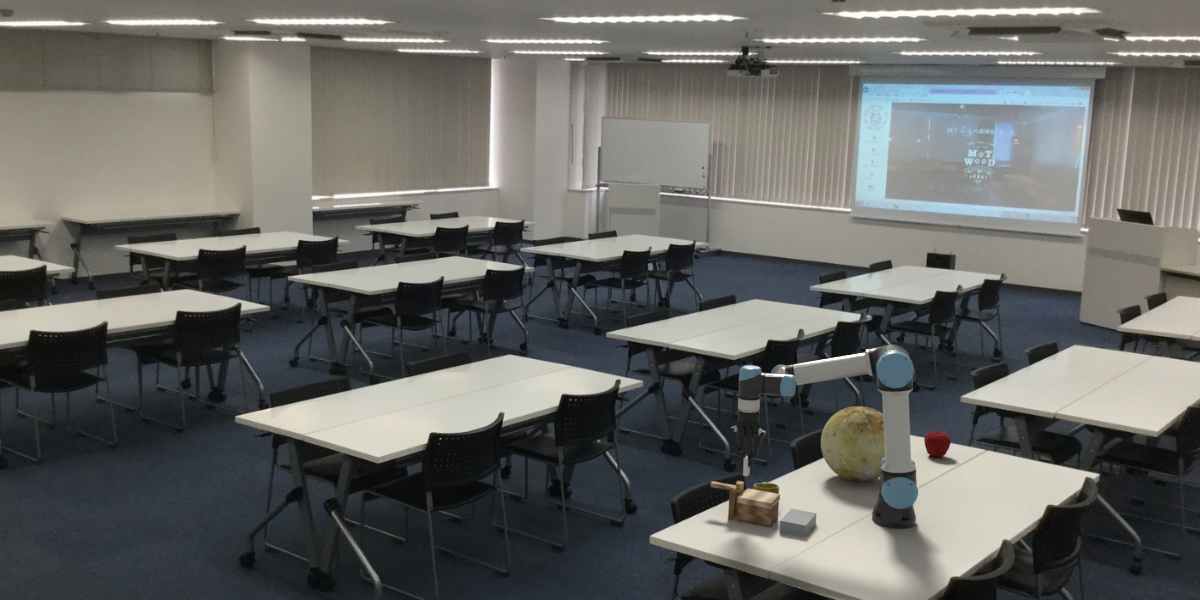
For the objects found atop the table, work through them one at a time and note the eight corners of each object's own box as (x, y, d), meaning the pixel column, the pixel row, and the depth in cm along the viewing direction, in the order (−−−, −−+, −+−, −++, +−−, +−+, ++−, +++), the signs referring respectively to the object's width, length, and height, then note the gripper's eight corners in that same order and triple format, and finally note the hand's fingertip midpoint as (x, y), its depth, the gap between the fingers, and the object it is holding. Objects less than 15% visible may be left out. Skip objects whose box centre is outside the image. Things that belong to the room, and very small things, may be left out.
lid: (779, 502, 368) (780, 494, 368) (770, 511, 358) (770, 503, 358) (747, 496, 373) (747, 488, 373) (737, 505, 364) (737, 497, 363)
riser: (815, 524, 365) (816, 513, 364) (805, 536, 352) (805, 525, 352) (790, 519, 369) (791, 508, 368) (779, 531, 356) (780, 520, 356)
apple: (924, 459, 448) (926, 432, 446) (921, 452, 458) (923, 426, 456) (951, 461, 446) (953, 434, 444) (947, 454, 456) (949, 428, 455)
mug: (782, 508, 374) (775, 481, 375) (754, 514, 377) (748, 486, 378) (785, 503, 386) (778, 477, 387) (758, 509, 388) (752, 483, 390)
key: (743, 490, 369) (744, 482, 369) (741, 492, 367) (741, 484, 366) (713, 484, 374) (713, 476, 374) (710, 487, 372) (710, 478, 371)
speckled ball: (904, 478, 420) (910, 406, 416) (881, 497, 395) (887, 421, 391) (833, 464, 436) (838, 394, 432) (807, 482, 411) (812, 408, 407)
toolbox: (777, 519, 368) (779, 488, 367) (770, 527, 360) (772, 495, 359) (736, 511, 375) (737, 480, 373) (727, 519, 367) (729, 487, 365)
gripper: (769, 409, 364) (767, 474, 367) (734, 405, 370) (732, 469, 373) (763, 414, 357) (760, 480, 361) (727, 410, 363) (725, 475, 366)
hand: (746, 474), depth 367 cm, fingers closed
